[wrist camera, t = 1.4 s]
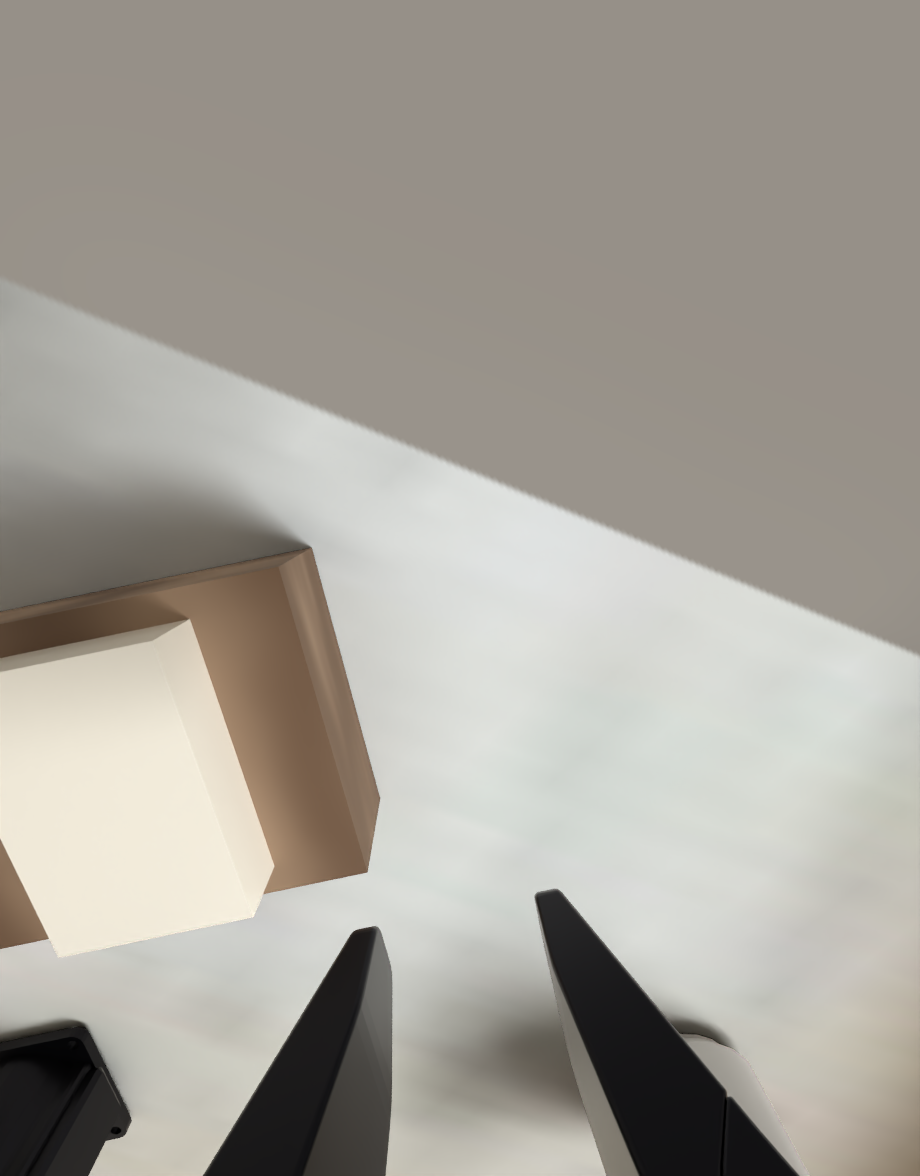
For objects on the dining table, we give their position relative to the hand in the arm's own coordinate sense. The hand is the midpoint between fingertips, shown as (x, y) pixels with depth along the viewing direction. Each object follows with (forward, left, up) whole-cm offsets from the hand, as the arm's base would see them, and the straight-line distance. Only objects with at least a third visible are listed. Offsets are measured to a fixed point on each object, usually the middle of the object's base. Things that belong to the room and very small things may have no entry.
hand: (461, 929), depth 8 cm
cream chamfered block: (-10, 0, -8) cm, 13 cm away
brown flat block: (-11, 0, -12) cm, 16 cm away
